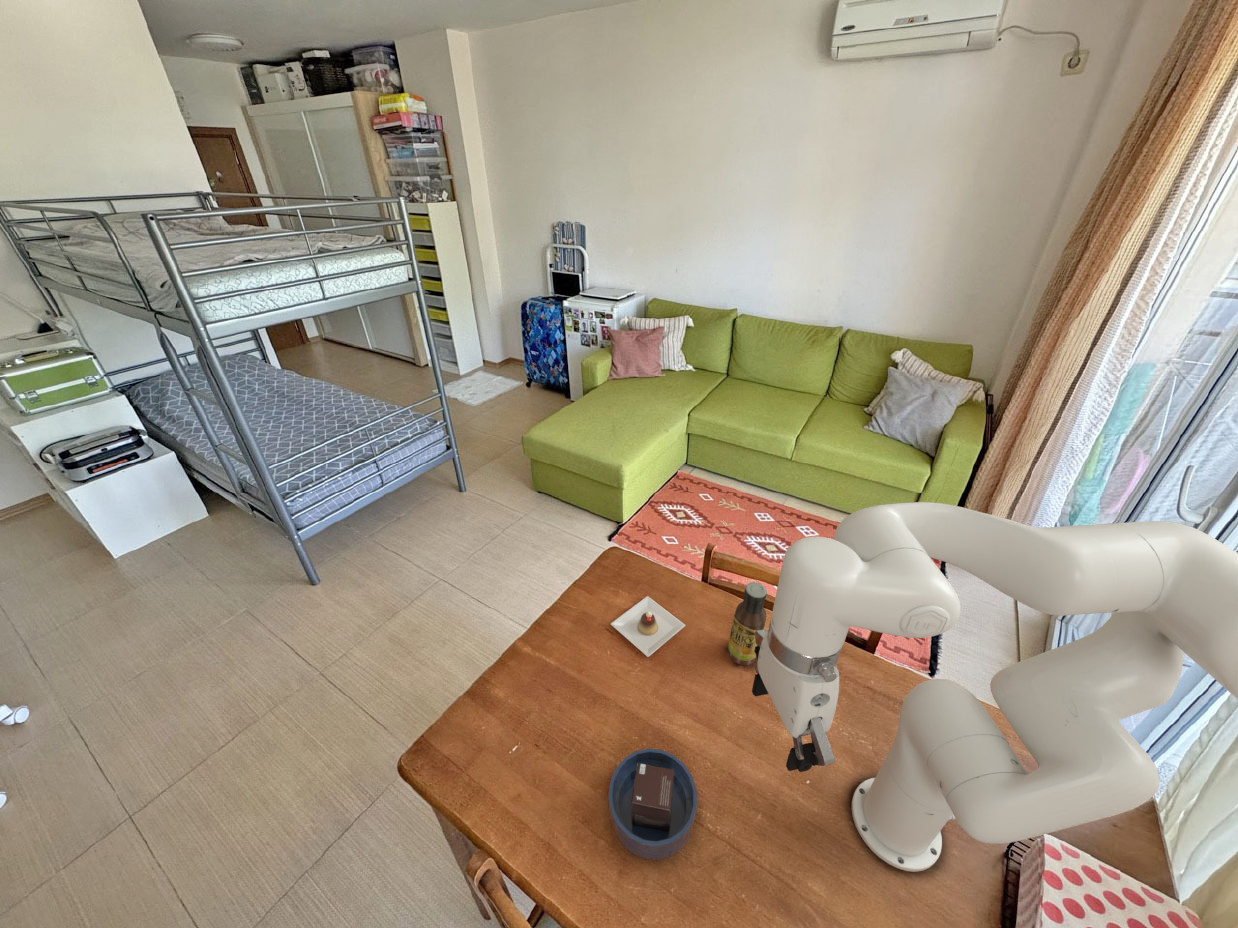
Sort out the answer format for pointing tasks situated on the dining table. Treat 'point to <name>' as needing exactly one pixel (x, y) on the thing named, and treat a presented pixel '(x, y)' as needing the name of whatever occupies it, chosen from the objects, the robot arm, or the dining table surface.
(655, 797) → the box
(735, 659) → the sauce bottle
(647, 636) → the dessert
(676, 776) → the bowl
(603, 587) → the dining table surface
